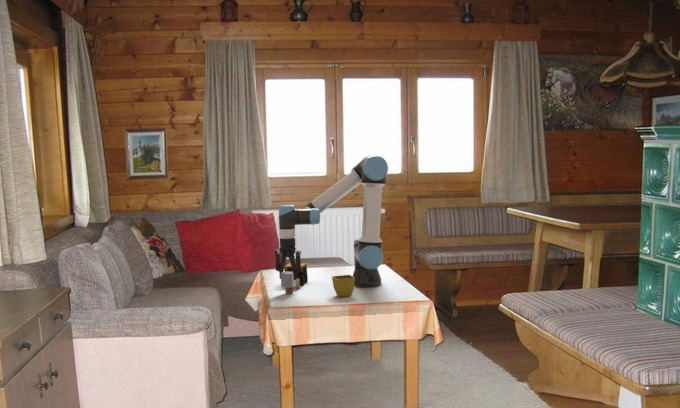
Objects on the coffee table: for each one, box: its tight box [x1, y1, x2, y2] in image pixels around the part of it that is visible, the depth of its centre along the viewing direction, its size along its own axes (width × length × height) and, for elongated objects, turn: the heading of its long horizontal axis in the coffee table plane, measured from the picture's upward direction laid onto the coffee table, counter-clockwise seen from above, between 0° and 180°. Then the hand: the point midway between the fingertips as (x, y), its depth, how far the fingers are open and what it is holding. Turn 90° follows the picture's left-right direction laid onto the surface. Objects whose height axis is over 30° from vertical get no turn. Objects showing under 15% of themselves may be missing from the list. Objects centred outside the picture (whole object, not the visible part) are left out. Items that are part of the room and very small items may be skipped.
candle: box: [284, 262, 309, 287], centre depth 327 cm, size 10×10×10 cm
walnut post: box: [284, 287, 294, 295], centre depth 303 cm, size 3×3×7 cm
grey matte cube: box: [280, 271, 293, 288], centre depth 303 cm, size 5×5×7 cm
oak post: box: [293, 279, 301, 291], centre depth 313 cm, size 3×3×5 cm
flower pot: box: [331, 274, 355, 298], centre depth 295 cm, size 9×9×9 cm
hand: (288, 286), depth 303 cm, fingers closed on grey matte cube, 5 cm apart
